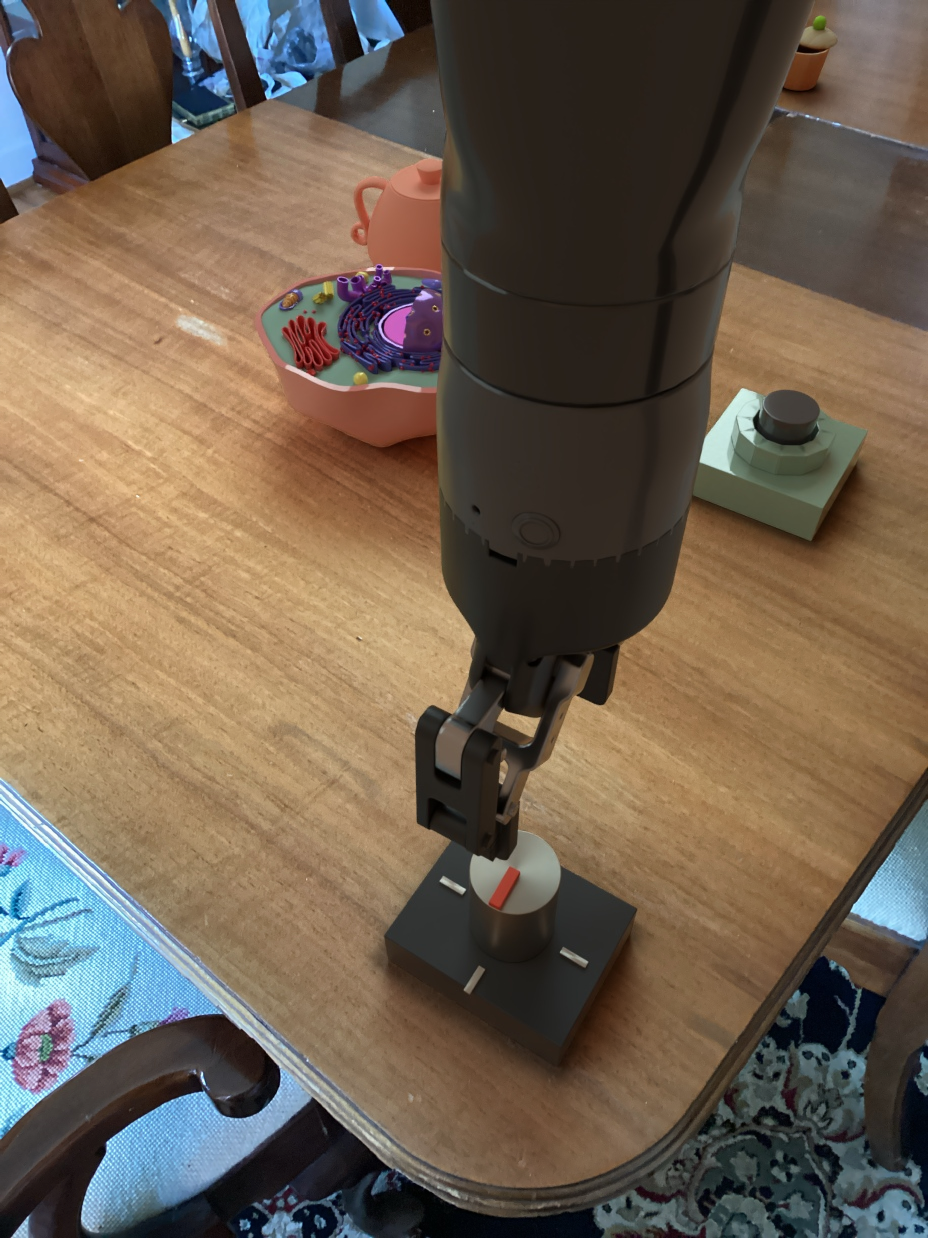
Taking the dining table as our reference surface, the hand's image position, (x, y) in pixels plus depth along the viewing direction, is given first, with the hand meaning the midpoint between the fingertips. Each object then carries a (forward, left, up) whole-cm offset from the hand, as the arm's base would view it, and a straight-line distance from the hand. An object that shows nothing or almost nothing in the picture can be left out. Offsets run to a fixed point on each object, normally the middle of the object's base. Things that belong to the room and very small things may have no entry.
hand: (539, 764), depth 41 cm
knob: (0, +2, -12) cm, 12 cm away
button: (+2, -40, -11) cm, 42 cm away
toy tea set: (+36, -111, -15) cm, 118 cm away
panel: (0, +2, -15) cm, 15 cm away
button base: (+2, -40, -15) cm, 43 cm away
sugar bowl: (+41, -51, -15) cm, 67 cm away
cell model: (+31, -31, -15) cm, 47 cm away
